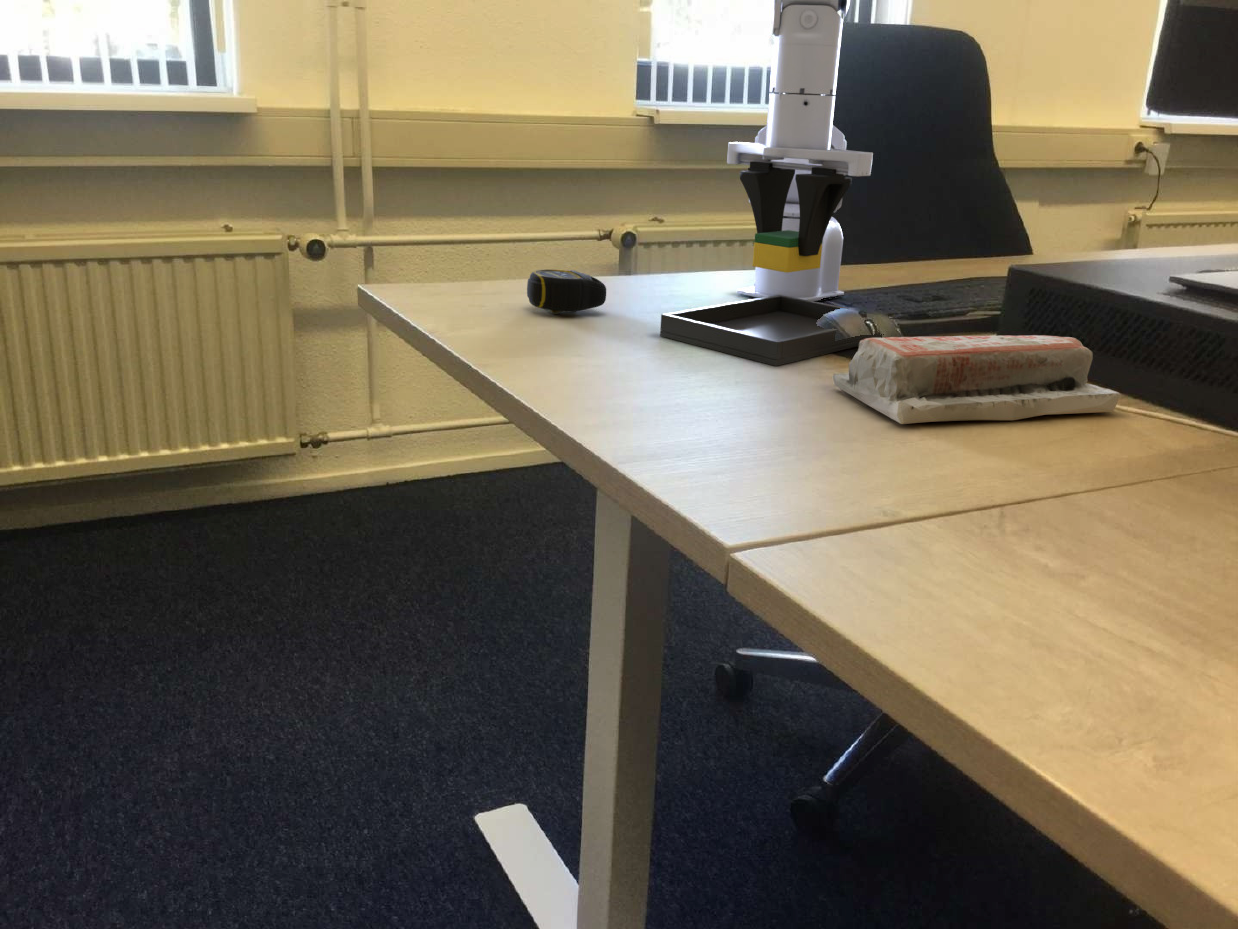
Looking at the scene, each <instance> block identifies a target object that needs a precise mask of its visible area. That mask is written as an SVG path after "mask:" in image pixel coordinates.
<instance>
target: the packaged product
mask: <svg viewBox="0 0 1238 929" xmlns="http://www.w3.org/2000/svg"><path fill="white" fill-rule="evenodd" d="M1092 362H1093V351H1092V350H1090V349H1089V348H1088V347H1086V346H1084V345H1083V344H1082V342H1081V340H1079V339H1077V338H1076V337H1070V336H1058V335H1046V334H1045V335H1044V334H1043V335H1037V334H1032V335H1021V334H1020V335H1006V334H1005V335H954V336H952V335H951V336H950V335H944V336H891V337H882V338H866V339H864V340H860V343H859V346H858V349H857V351H856V352H855V354H854V356H853V357H852V359H851V361H850V362H849V363H848V372H846V373H842V372H841V373H833V374H832V377H831V378H832V381H833V384H834V386H835V387H836V388H838V389H840V390H842V391H843V392H845V393H847V394H849V395H850V396H852V397H854V398H855V399H857V400H859V401H860V402H862V403H864V404H865V405H867V406H869V407H870V408H872V409H874V410H876V411H877V412H879V413H881V414H883V415H884V416H886V417H888V418H890V419H891V420H893V421H895V422H897V423H898V424H900V425H907V424H917V423H930V422H931V423H932V422H933V423H934V422H935V423H936V422H960V421H1017V420H1022V419H1028V418H1033V417H1039V416H1044V415H1065V414H1067V415H1069V414H1090V413H1091V414H1092V413H1113V412H1115V410H1116V407H1117V405H1118V402H1119V400H1120V397H1121V395H1122V394H1121V393H1120V392H1118V391H1115V390H1112V389H1110V388H1105V387H1101V386H1099V385H1095V384H1091V383H1087V382H1088V380H1089V379H1088V376H1089V373H1090V370H1091V365H1092Z"/></svg>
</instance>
